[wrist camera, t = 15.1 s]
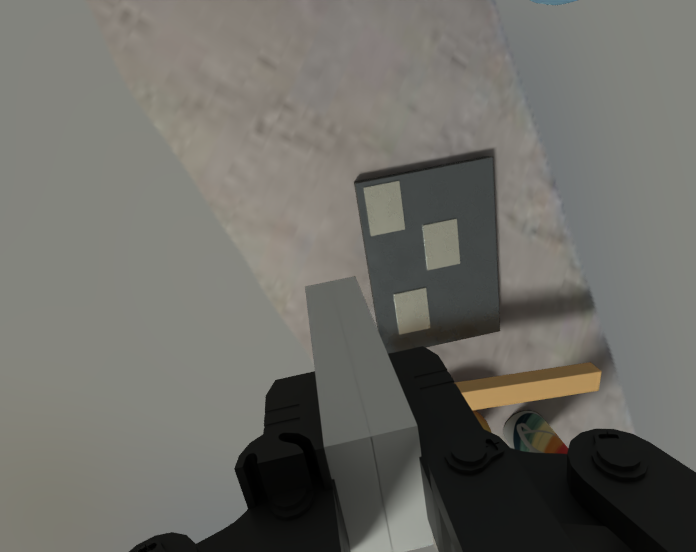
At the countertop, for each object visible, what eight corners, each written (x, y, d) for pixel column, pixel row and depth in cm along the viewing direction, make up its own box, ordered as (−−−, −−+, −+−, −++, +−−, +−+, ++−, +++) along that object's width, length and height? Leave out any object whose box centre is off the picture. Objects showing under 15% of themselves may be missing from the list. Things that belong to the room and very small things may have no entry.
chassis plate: (353, 182, 44) (355, 184, 43) (488, 156, 45) (493, 157, 44) (381, 352, 52) (383, 357, 51) (496, 327, 53) (500, 331, 52)
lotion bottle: (525, 402, 58) (640, 543, 39) (551, 423, 59) (671, 567, 41) (493, 431, 59) (590, 582, 40) (519, 450, 60) (623, 603, 42)
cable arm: (378, 417, 47) (382, 432, 45) (376, 386, 46) (380, 399, 44) (585, 385, 50) (598, 397, 48) (590, 354, 48) (603, 366, 46)
